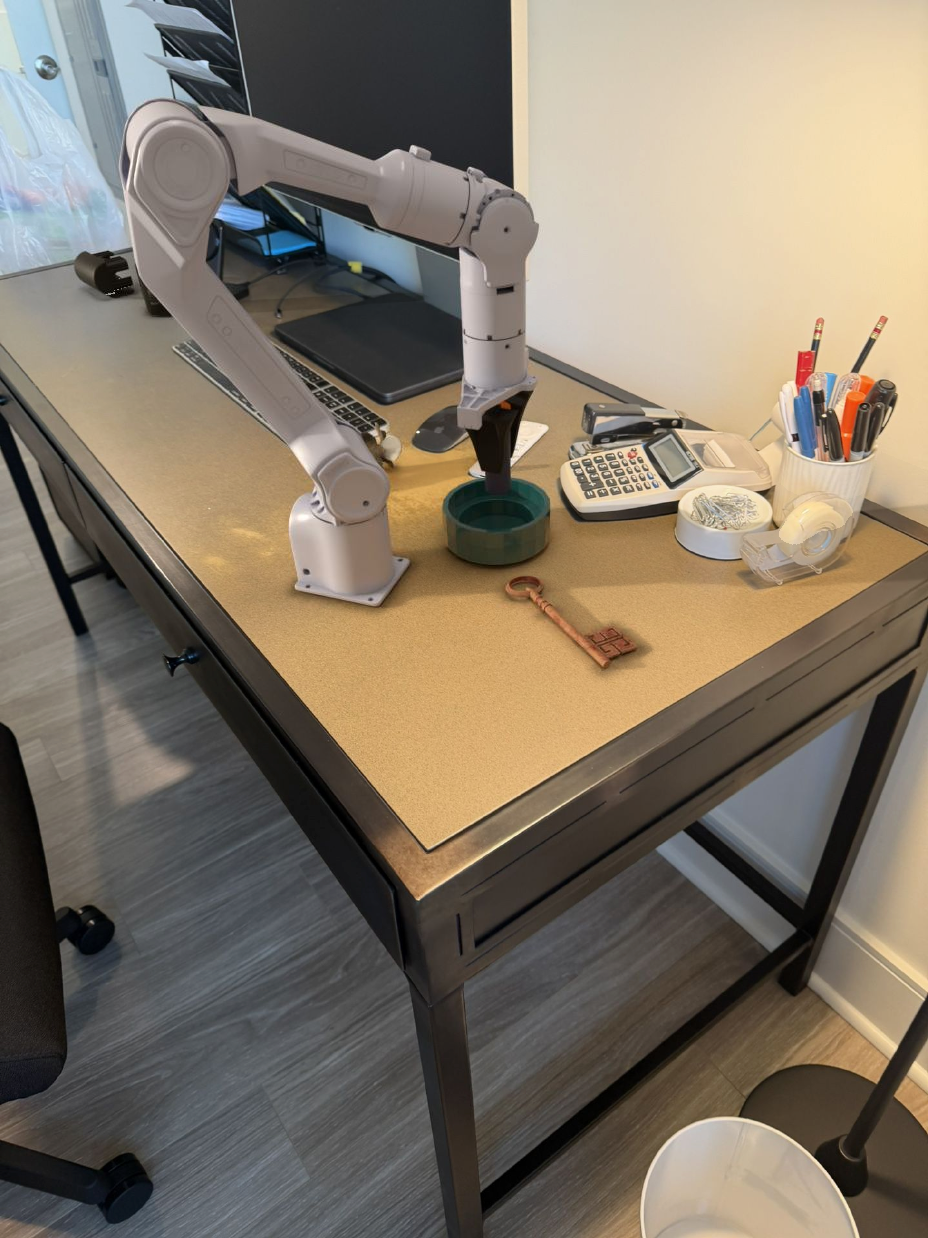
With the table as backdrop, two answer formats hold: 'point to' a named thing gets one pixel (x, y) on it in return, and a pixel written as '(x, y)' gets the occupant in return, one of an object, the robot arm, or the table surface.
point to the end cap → (103, 273)
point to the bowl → (496, 522)
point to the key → (583, 640)
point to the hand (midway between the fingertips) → (497, 463)
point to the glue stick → (501, 482)
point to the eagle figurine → (383, 446)
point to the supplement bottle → (152, 300)
